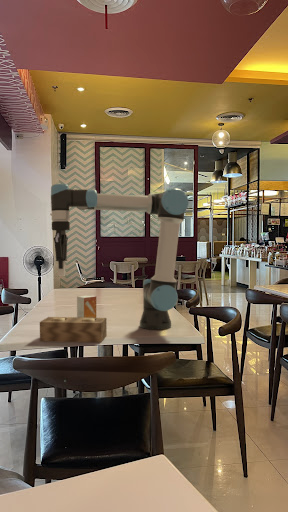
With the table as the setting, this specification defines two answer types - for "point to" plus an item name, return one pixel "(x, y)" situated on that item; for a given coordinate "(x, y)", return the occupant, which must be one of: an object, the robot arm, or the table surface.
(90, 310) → the small box
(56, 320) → the peg
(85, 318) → the peg
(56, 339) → the socket block
